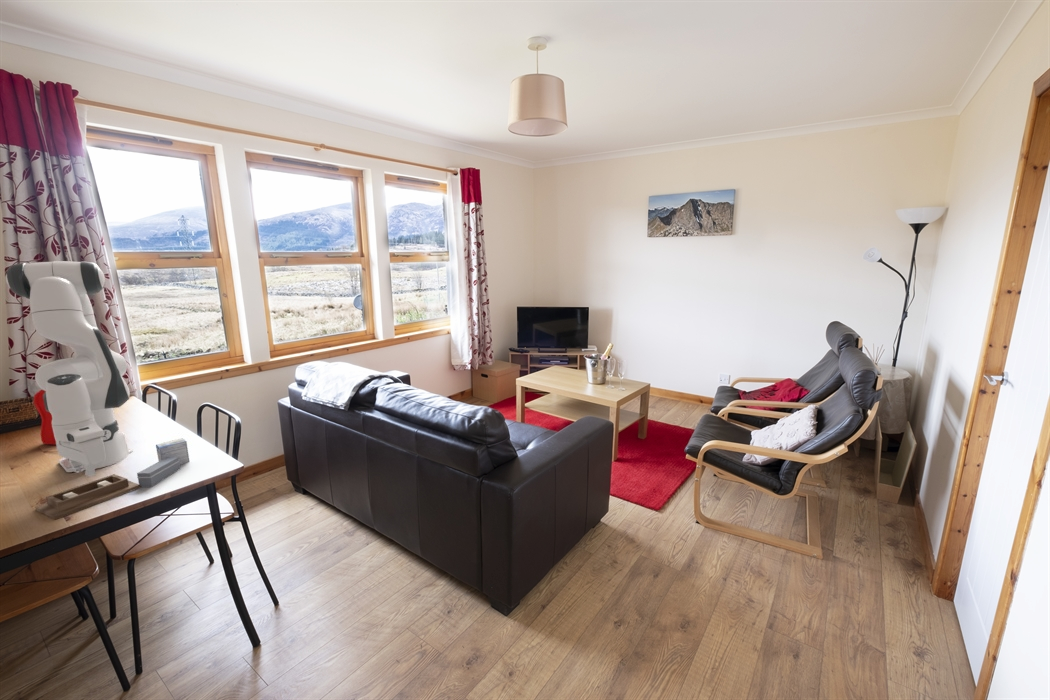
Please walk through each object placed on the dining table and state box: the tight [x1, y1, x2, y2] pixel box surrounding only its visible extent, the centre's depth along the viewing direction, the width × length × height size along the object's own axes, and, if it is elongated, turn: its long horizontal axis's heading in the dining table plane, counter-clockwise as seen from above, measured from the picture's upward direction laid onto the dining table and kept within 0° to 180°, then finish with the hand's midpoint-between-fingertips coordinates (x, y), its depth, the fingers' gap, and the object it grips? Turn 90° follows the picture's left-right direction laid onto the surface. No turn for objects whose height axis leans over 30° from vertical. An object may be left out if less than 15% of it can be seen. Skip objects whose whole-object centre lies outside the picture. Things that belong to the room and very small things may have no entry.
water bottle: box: [33, 389, 56, 446], centre depth 180 cm, size 9×11×25 cm
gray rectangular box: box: [136, 457, 181, 488], centre depth 149 cm, size 4×12×5 cm, turn 0°
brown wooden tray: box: [34, 473, 141, 520], centre depth 136 cm, size 12×20×4 cm, turn 155°
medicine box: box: [155, 438, 190, 465], centre depth 158 cm, size 8×4×9 cm, turn 141°
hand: (84, 473), depth 135 cm, fingers open, 6 cm apart
